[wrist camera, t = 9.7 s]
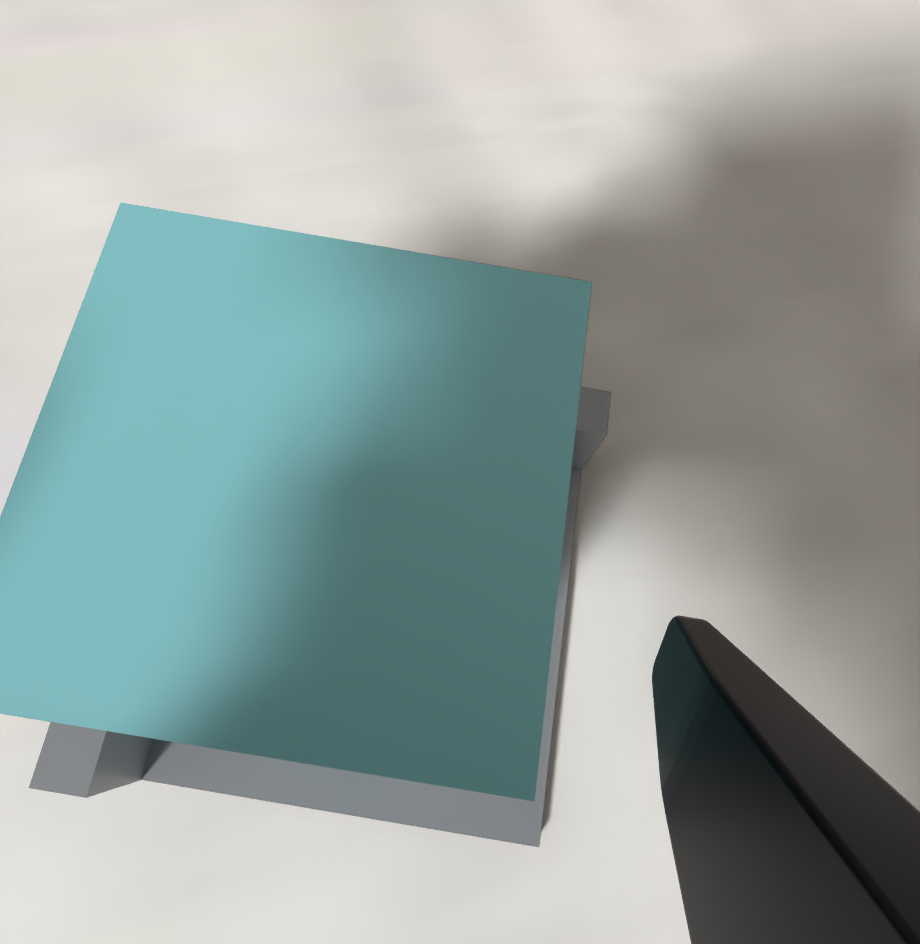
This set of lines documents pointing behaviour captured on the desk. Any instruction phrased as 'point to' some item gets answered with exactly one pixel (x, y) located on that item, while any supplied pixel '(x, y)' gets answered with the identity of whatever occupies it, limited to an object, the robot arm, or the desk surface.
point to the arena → (376, 797)
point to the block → (299, 504)
